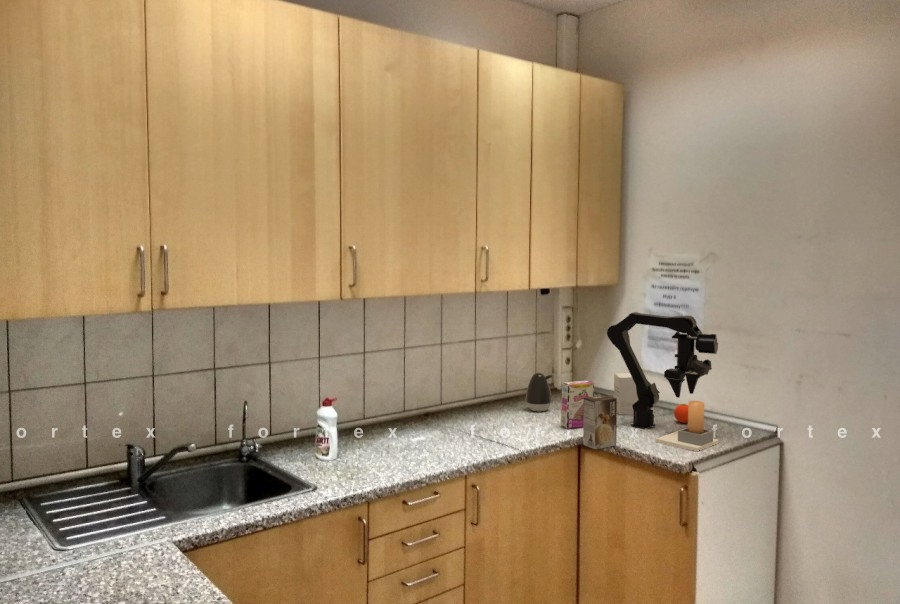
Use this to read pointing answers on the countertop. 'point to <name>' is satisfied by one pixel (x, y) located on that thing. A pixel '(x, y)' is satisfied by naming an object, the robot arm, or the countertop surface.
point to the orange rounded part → (696, 417)
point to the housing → (689, 439)
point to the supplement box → (625, 393)
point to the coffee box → (600, 421)
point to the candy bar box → (574, 403)
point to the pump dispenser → (538, 393)
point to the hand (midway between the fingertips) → (684, 395)
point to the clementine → (681, 413)
